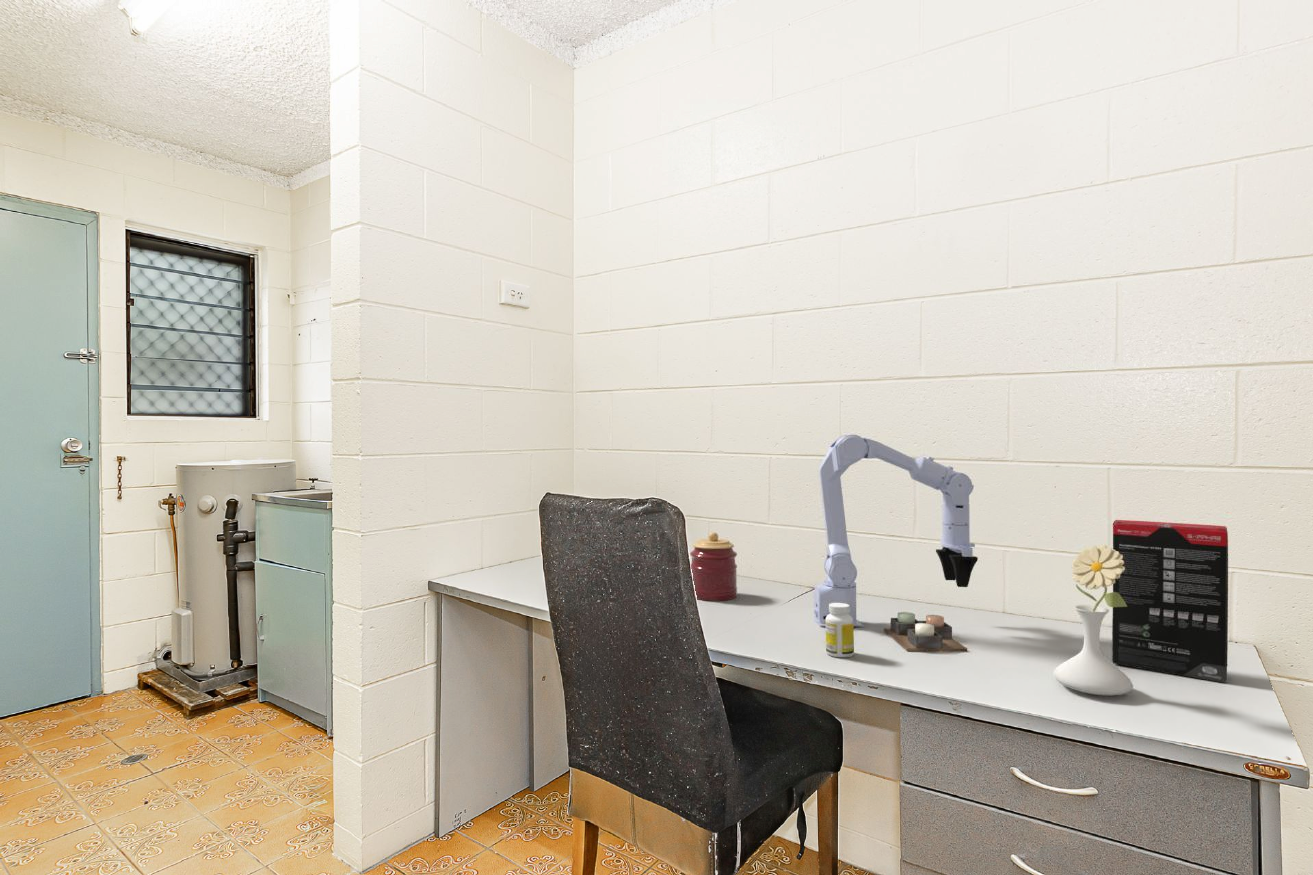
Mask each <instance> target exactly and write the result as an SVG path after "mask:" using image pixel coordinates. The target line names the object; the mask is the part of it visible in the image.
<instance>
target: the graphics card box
mask: <svg viewBox="0 0 1313 875" xmlns="http://www.w3.org/2000/svg"><path fill="white" fill-rule="evenodd" d="M1228 532H1229V531H1228V527H1227V526H1226V525H1215V524H1199V523H1198V524H1197V523H1184V522H1181V523H1179V522H1168V521H1167V522H1166V521H1163V522H1161V521H1147V520H1145V521H1144V520H1127V519H1126V520H1124V519H1115V520H1113V523H1112V550H1116V551H1118V552H1119V554H1121V555H1123V558H1122V560H1123V561H1124V564H1123V565H1122V566H1124V567H1125V570H1124V571H1123V572H1122V574H1120V578H1119V579H1115V583H1114V584H1112V592H1117V593H1119V594H1120V596H1121V597H1122V599H1123V600H1124V602H1125V603H1126V605H1127V607H1112V620H1111V621H1112V623H1111V624H1112V626H1111V627H1112V629H1111V636H1112V637H1111V638H1112V640H1111V642H1112V643H1111V644H1112V648H1111V651H1112V652H1111V654H1112V657H1111V658H1112V659H1111V660H1112V664H1114V665H1121V666H1128V667H1133V668H1139V669H1143V670H1151V671H1155V672H1163V673H1167V674H1173V675H1178V676H1185V677H1189V678H1195V679H1200V680H1207V681H1211V682H1212V681H1213V682H1218V683H1227V680H1228V677H1227V676H1228V653H1229V652H1228V651H1229V650H1228V648H1229V647H1228V645H1229V644H1228V635H1229V634H1228V633H1229V629H1228V628H1229V534H1228Z"/></svg>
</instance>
